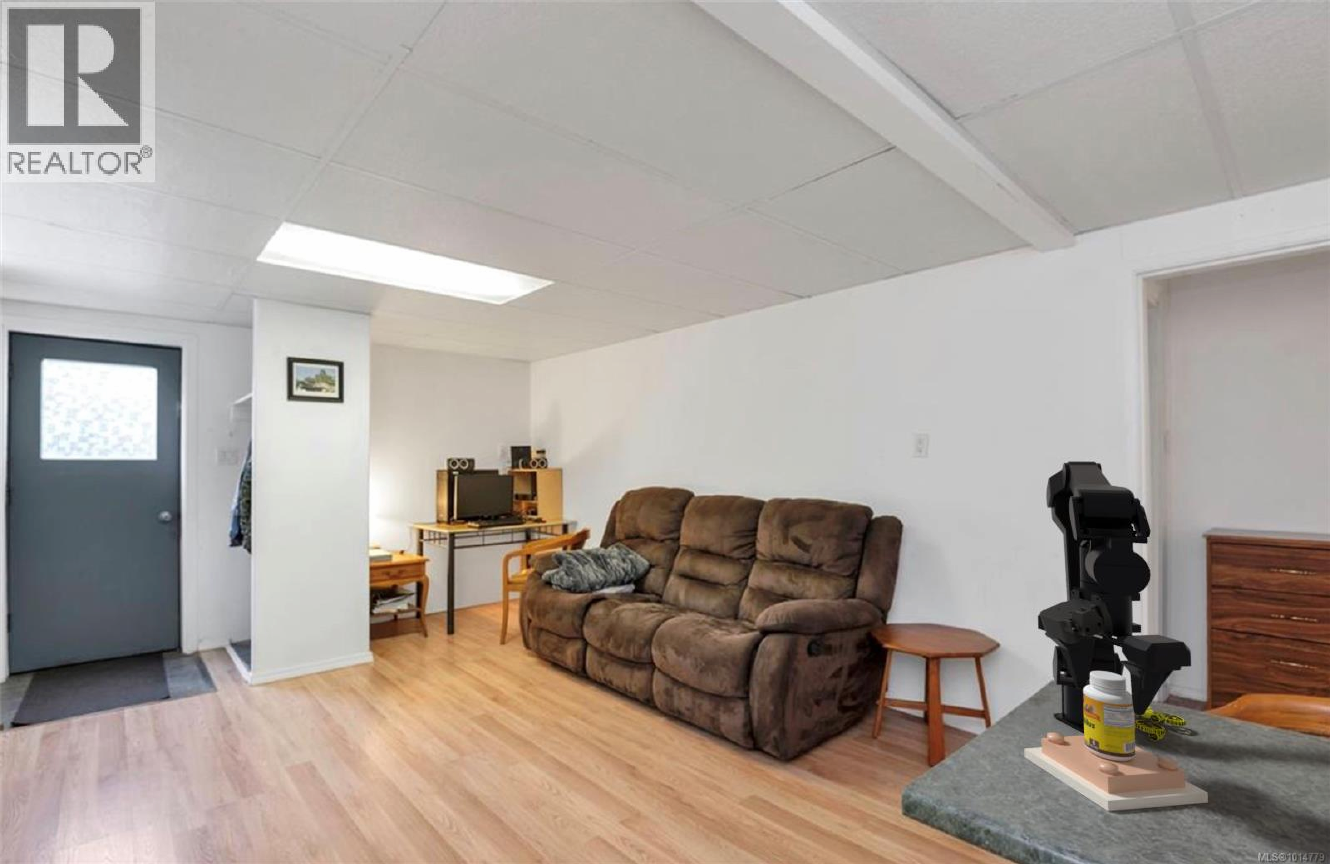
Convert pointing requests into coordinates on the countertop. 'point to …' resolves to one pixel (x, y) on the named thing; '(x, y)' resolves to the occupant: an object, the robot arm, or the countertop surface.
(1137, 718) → the toy motorcycle
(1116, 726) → the supplement bottle
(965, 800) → the countertop surface
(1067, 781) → the tower base
